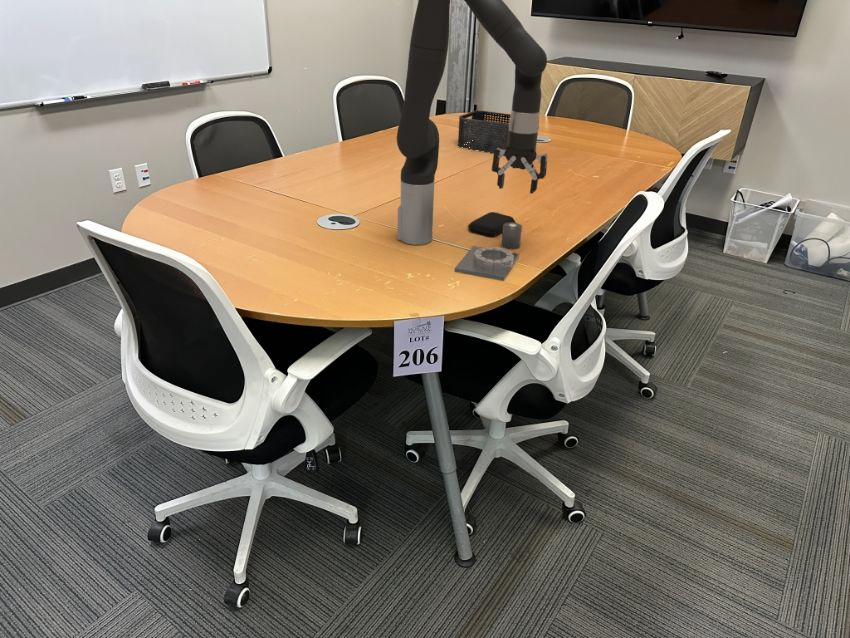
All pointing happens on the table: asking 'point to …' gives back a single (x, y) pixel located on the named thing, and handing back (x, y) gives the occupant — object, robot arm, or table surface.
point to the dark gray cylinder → (511, 235)
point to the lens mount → (487, 262)
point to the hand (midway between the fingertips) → (516, 190)
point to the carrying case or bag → (490, 224)
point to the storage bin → (483, 131)
